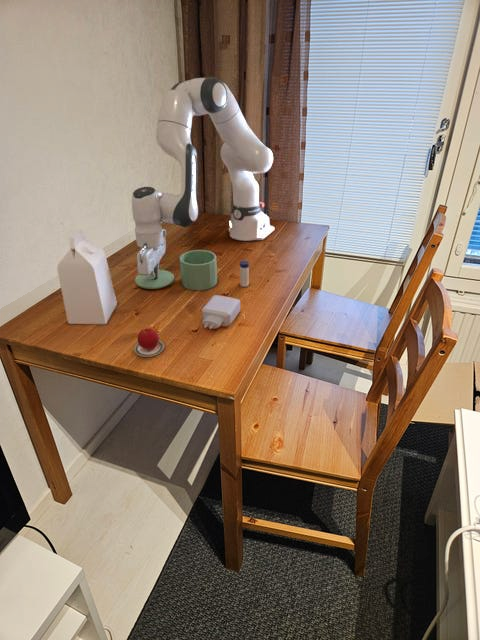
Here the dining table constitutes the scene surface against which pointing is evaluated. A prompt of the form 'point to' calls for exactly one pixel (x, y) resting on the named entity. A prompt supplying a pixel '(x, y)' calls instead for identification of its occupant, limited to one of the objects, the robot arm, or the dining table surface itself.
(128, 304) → the dining table surface
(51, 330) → the dining table surface
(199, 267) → the tin
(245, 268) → the glue stick
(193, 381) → the dining table surface
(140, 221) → the robot arm
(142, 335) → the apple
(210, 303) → the charger
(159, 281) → the tin lid
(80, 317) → the milk
